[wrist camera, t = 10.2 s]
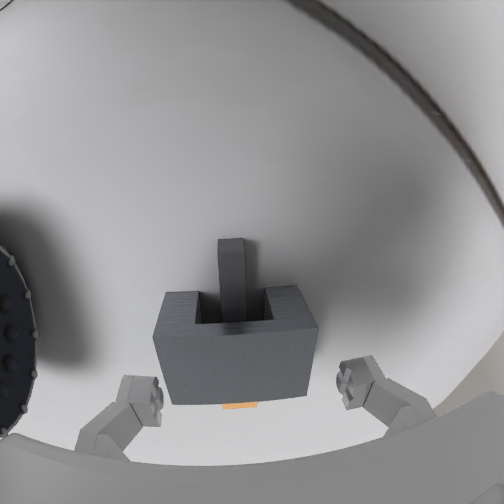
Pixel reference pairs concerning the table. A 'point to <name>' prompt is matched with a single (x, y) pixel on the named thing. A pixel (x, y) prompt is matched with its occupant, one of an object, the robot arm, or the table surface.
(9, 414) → the dotted bowl
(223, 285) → the plug
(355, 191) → the table surface
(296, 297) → the slotted block
